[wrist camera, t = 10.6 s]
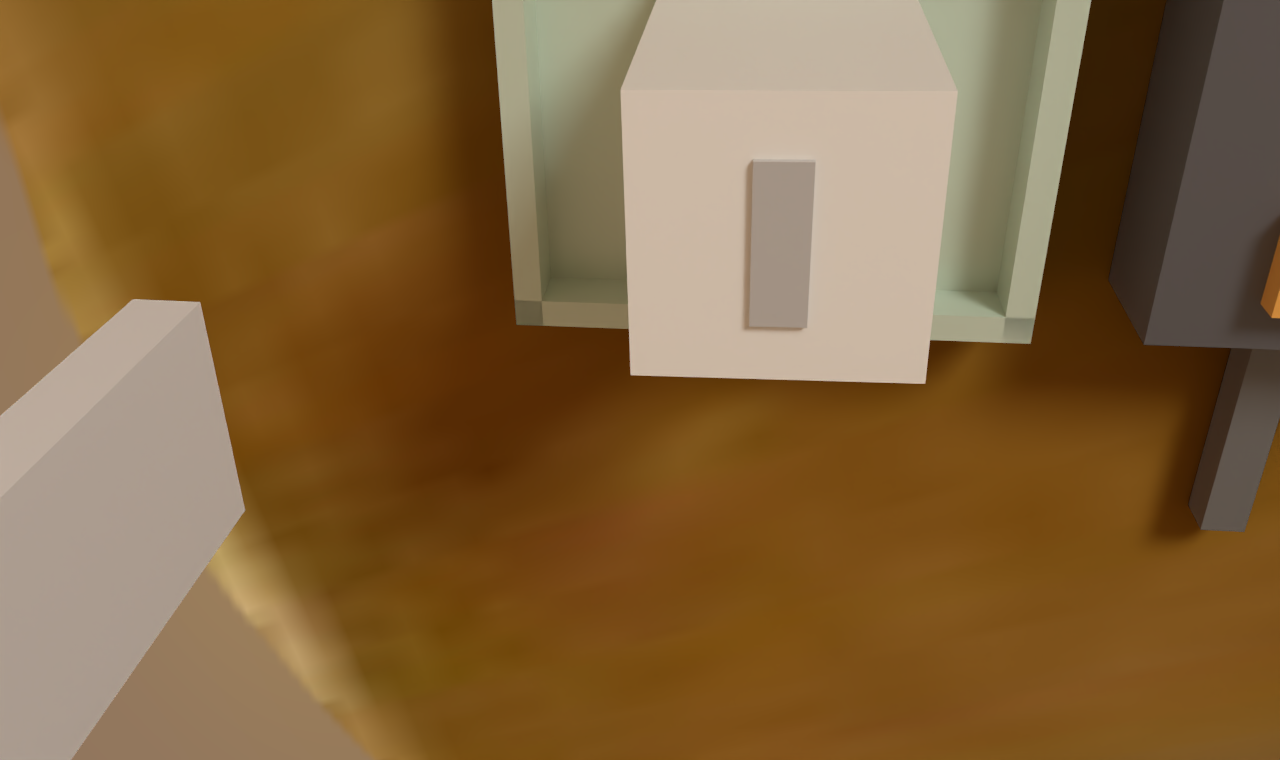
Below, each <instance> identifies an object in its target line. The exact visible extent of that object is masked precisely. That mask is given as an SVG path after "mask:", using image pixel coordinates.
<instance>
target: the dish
mask: <svg viewBox="0 0 1280 760" xmlns="http://www.w3.org/2000/svg"><path fill="white" fill-rule="evenodd" d="M918 1H919V3H920V5H921V8H922V10H923V12H924V14H925V17H926V19H927V21H928V24H929V26H930V28H931V31H932V33H933V35H934V37H935V40H936V42H937V44H938V47H939V49H940V51H941V54H942V56H943V58H944V61H945V63H946V65H947V67H948V70H949V72H950V74H951V77H952V79H953V81H954V84H955V86H956V88H957V90H958V95H957V104H956V113H955V121H954V130H953V139H952V148H951V157H950V166H949V175H948V184H947V193H946V202H945V211H944V220H943V229H942V238H941V247H940V256H939V265H938V274H937V283H936V292H935V301H934V309H933V318H932V327H931V336H930V340H942V341H969V342H996V343H1023V344H1031V339H1032V333H1033V327H1034V322H1035V316H1036V310H1037V305H1038V299H1039V293H1040V288H1041V282H1042V276H1043V271H1044V265H1045V259H1046V254H1047V248H1048V242H1049V237H1050V231H1051V225H1052V220H1053V214H1054V208H1055V203H1056V197H1057V191H1058V186H1059V180H1060V174H1061V169H1062V163H1063V158H1064V152H1065V146H1066V141H1067V135H1068V129H1069V124H1070V118H1071V112H1072V107H1073V101H1074V95H1075V90H1076V84H1077V78H1078V73H1079V67H1080V61H1081V56H1082V50H1083V44H1084V39H1085V33H1086V27H1087V22H1088V16H1089V10H1090V5H1091V0H918ZM655 2H656V0H492V7H493V21H494V34H495V47H496V61H497V74H498V87H499V101H500V114H501V127H502V140H503V154H504V167H505V180H506V194H507V207H508V220H509V234H510V247H511V260H512V273H513V287H514V300H515V313H516V325H536V326H563V327H590V328H617V329H629V317H628V289H627V260H626V232H625V204H624V175H623V147H622V119H621V87H622V85H623V82H624V80H625V77H626V75H627V72H628V70H629V67H630V65H631V62H632V60H633V57H634V55H635V52H636V50H637V47H638V45H639V42H640V40H641V37H642V35H643V32H644V30H645V27H646V25H647V22H648V20H649V17H650V14H651V12H652V9H653V7H654V4H655Z"/></svg>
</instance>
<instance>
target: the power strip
mask: <svg viewBox="0 0 1280 760" xmlns="http://www.w3.org/2000/svg"><path fill="white" fill-rule="evenodd" d="M1108 281H1109V282H1110V284H1111V286H1112V288H1113V290H1114V291H1115V293H1116V295H1117V297H1118V299H1119V301H1120V302H1121V304H1122V306H1123V308H1124V310H1125V312H1126V313H1127V315H1128V317H1129V319H1130V321H1131V322H1132V324H1133V326H1134V328H1135V330H1136V332H1137V333H1138V335H1139V337H1140V339H1141V341H1142V342H1143V344H1144V345H1163V346H1190V347H1217V348H1231V351H1230V355H1229V358H1228V362H1227V366H1226V369H1225V373H1224V377H1223V380H1222V384H1221V387H1220V391H1219V395H1218V398H1217V402H1216V406H1215V409H1214V413H1213V416H1212V420H1211V424H1210V427H1209V431H1208V435H1207V438H1206V442H1205V445H1204V449H1203V453H1202V456H1201V460H1200V464H1199V467H1198V471H1197V474H1196V478H1195V482H1194V485H1193V489H1192V493H1191V496H1190V500H1189V503H1188V505H1189V507H1190V509H1191V511H1192V513H1193V515H1194V517H1195V519H1196V521H1197V523H1198V525H1199V527H1200V529H1201V530H1218V531H1238V532H1244V531H1245V528H1246V525H1247V521H1248V518H1249V515H1250V512H1251V508H1252V505H1253V502H1254V499H1255V495H1256V492H1257V489H1258V486H1259V483H1260V479H1261V476H1262V473H1263V470H1264V466H1265V463H1266V460H1267V457H1268V454H1269V450H1270V447H1271V444H1272V441H1273V437H1274V434H1275V431H1276V428H1277V425H1278V421H1279V418H1280V0H1167V1H1166V6H1165V10H1164V15H1163V20H1162V25H1161V30H1160V34H1159V39H1158V44H1157V49H1156V54H1155V58H1154V63H1153V68H1152V73H1151V78H1150V82H1149V87H1148V92H1147V97H1146V102H1145V106H1144V111H1143V116H1142V121H1141V126H1140V130H1139V135H1138V140H1137V145H1136V150H1135V154H1134V159H1133V164H1132V169H1131V174H1130V178H1129V183H1128V188H1127V193H1126V198H1125V202H1124V207H1123V212H1122V217H1121V222H1120V226H1119V231H1118V236H1117V241H1116V246H1115V250H1114V255H1113V260H1112V265H1111V270H1110V274H1109V279H1108Z"/></svg>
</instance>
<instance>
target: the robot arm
mask: <svg viewBox="0 0 1280 760" xmlns="http://www.w3.org/2000/svg"><path fill="white" fill-rule="evenodd" d="M244 511H245V508H244V503H243V499H242V494H241V489H240V485H239V480H238V475H237V471H236V466H235V461H234V457H233V452H232V448H231V443H230V438H229V434H228V429H227V424H226V420H225V415H224V410H223V406H222V401H221V397H220V392H219V387H218V383H217V378H216V373H215V369H214V364H213V359H212V355H211V350H210V346H209V341H208V336H207V332H206V327H205V322H204V318H203V313H202V308H201V304H200V302H186V301H162V300H139V299H133V300H132V301H131V302H129V303H128V304H127V305H126V306H125V307H124V308H123V309H121V310H120V311H119V312H118V313H117V314H116V315H115V316H113V317H112V318H111V319H110V320H109V321H108V322H107V323H105V324H104V325H103V326H102V327H101V328H100V329H99V330H97V331H96V332H95V333H94V334H93V335H92V336H91V337H89V338H88V339H87V340H86V341H85V342H84V343H83V344H82V345H80V346H79V347H78V348H77V349H76V350H75V351H74V352H73V353H71V354H70V355H69V356H68V357H67V358H66V359H64V360H63V361H62V362H61V363H60V364H59V365H58V366H56V367H55V368H54V369H53V370H52V371H51V372H50V373H49V374H47V375H46V376H45V377H44V378H43V379H42V380H40V381H39V382H38V383H37V384H36V385H35V386H34V387H33V388H31V389H30V390H29V391H28V392H27V393H26V394H25V395H24V396H22V397H21V398H20V399H19V400H18V401H17V402H15V403H14V404H13V405H12V406H11V407H10V408H9V409H7V410H6V411H5V412H4V413H3V414H2V415H1V416H0V760H71V759H72V758H73V757H74V755H75V753H76V752H77V751H78V749H79V748H80V747H81V745H82V744H83V742H84V741H85V739H86V738H87V736H88V735H89V733H90V732H91V731H92V729H93V728H94V726H95V725H96V724H97V722H98V721H99V719H100V718H101V716H102V715H103V714H104V712H105V711H106V709H107V708H108V706H109V705H110V703H111V702H112V701H113V699H114V698H115V696H116V695H117V693H118V692H119V690H120V689H121V687H122V686H123V685H124V683H125V682H126V680H127V679H128V678H129V676H130V675H131V673H132V672H133V670H134V669H135V667H136V666H137V665H138V663H139V662H140V660H141V659H142V658H143V656H144V655H145V653H146V652H147V650H148V649H149V647H150V646H151V645H152V643H153V642H154V640H155V639H156V637H157V636H158V635H159V633H160V632H161V630H162V629H163V627H164V626H165V625H166V623H167V622H168V620H169V619H170V617H171V616H172V614H173V613H174V611H175V610H176V609H177V607H178V606H179V604H180V603H181V602H182V600H183V599H184V597H185V596H186V594H187V593H188V592H189V590H190V588H191V587H192V586H193V584H194V583H195V581H196V580H197V578H198V577H199V576H200V574H201V573H202V571H203V570H204V569H205V567H206V566H207V564H208V563H209V561H210V560H211V559H212V557H213V556H214V554H215V553H216V551H217V550H218V548H219V547H220V546H221V544H222V543H223V541H224V540H225V538H226V537H227V536H228V534H229V533H230V531H231V530H232V528H233V527H234V526H235V524H236V523H237V521H238V520H239V518H240V517H241V515H242V514H243V513H244Z"/></svg>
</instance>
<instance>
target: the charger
mask: <svg viewBox="0 0 1280 760" xmlns="http://www.w3.org/2000/svg"><path fill="white" fill-rule="evenodd" d="M957 95H958V90H957V88H956V86H955V84H954V81H953V79H952V77H951V74H950V72H949V70H948V67H947V65H946V63H945V61H944V58H943V56H942V54H941V51H940V49H939V47H938V44H937V42H936V40H935V37H934V35H933V33H932V31H931V28H930V26H929V24H928V21H927V19H926V17H925V14H924V12H923V10H922V8H921V5H920V3H919V1H918V0H656V2H655V4H654V7H653V9H652V12H651V14H650V17H649V20H648V22H647V25H646V27H645V30H644V32H643V35H642V37H641V40H640V42H639V45H638V47H637V50H636V52H635V55H634V57H633V60H632V62H631V65H630V67H629V70H628V72H627V75H626V77H625V80H624V82H623V85H622V87H621V119H622V147H623V175H624V204H625V232H626V260H627V289H628V317H629V345H630V374H631V375H641V376H675V377H709V378H743V379H777V380H812V381H846V382H880V383H914V384H925V381H926V372H927V363H928V354H929V345H930V336H931V327H932V318H933V309H934V301H935V292H936V283H937V274H938V265H939V256H940V247H941V238H942V229H943V220H944V211H945V202H946V193H947V184H948V175H949V166H950V157H951V148H952V139H953V130H954V121H955V113H956V104H957Z"/></svg>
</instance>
